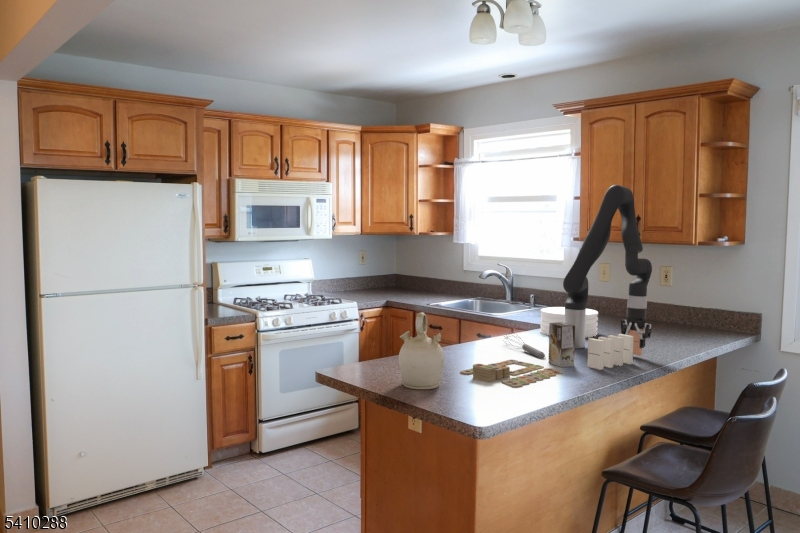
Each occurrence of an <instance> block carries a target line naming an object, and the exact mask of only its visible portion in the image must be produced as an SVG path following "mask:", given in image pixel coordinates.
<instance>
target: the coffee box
mask: <svg viewBox="0 0 800 533" xmlns="http://www.w3.org/2000/svg"><path fill="white" fill-rule="evenodd" d="M575 350H576V348H575V325H571V324H567V323H563V322H556V323H549V335H548V363H549V364H551V365H554V366H556V367H559V368H569V367H574V366H575Z"/></svg>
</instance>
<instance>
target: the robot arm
mask: <svg viewBox="0 0 800 533" xmlns="http://www.w3.org/2000/svg"><path fill="white" fill-rule="evenodd" d="M634 199H635V198H634V193H633V191H632V190H631V189H630V188H629V187H626V186H623V185H619V184H613V185H611V186H610V187H609V188H607V189H606V192H605V193H604V196H603V198H602V201H601V204H600V206H599V209H598V212H597V213H596V216H595V218H594V221H593V223H592V225H591V227H590V229H589V230H588V232H587V235H586V237H585V238H584V240H583V243H582V245H581V247H580V249H579V252H578V254H577V256H576V258H575V259H574V260H575V261H574V262H573V264H572V266H571V267H570V269H569V271H568V272H567V273H566V275H565V277H564V279H563V282H562V286H563V289H564V291H565V292H566V293H567V297H566V300H565V301H564V307H565V313H564V323H567V324H571V325H575V349H583V348H585V347H586V338H585V322H586V309H587V303H588V300H589V298H588V297H589V279H588V277H587V276H588V273H589V271H590V269H591V268H592V267H593V265H594V264H596V261H597V260H598V259H599V258H600V257H601V255H602V254H603V253H604V251H605V248H606V247H607V245H608V242H609V241H610V237H611V232H612V221H613V219H614V216H615V214H616V213H617V211H618V212H619V214H620V216H621V240H622V243H623V248H624V250H625V254H624V257H625V258H624V266H625V270H626V272H627V273H628V274H629V275H630V276H634V277H635V276H636V277H635V279H634V280H633V281H630V282H629V286H628V295H627V297H628V298H627V303H626V304H627V308H626V317H627V318H626V319H621V320H620V334H624V335H628V334H629V332H630V329H631V330H635V331H637V332H638V334H639V336H640V348H643V349H644V348H645V347H646V340H647V339H649V338H651V335H652V330H653V324H652V323H647V322H646V318H647V310H648V309H647V308H648V306H647V305H648V301H647V300H648V299H647V296H648V295H647V292H648V284H649V282H650V279H651V276H652V271H653V265H652V263H651V262H652V261H651V260H649V259H648V258H641V257H640V258H639V254H640V253H642V252H643V251H644V246H643V243H642V239H641V235H640V233H639V232H640V231H639V228H638V223H637V217H636V210H635V200H634ZM640 329H643V331H640ZM642 333H643V335H642Z"/></svg>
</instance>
